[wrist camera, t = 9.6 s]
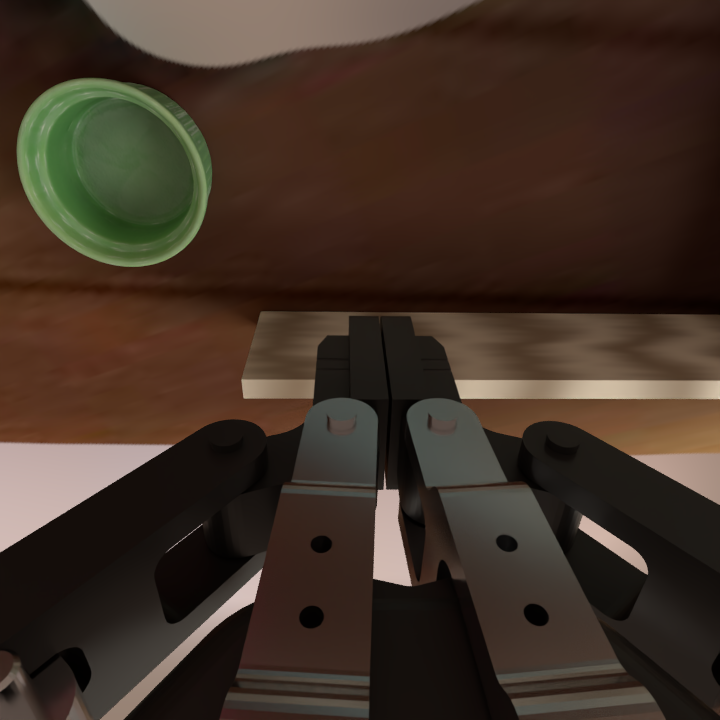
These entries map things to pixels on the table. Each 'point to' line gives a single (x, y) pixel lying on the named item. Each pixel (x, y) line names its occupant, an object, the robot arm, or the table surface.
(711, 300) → the table surface
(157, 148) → the ramekin
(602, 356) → the wooden c-shaped frame
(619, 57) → the table surface
